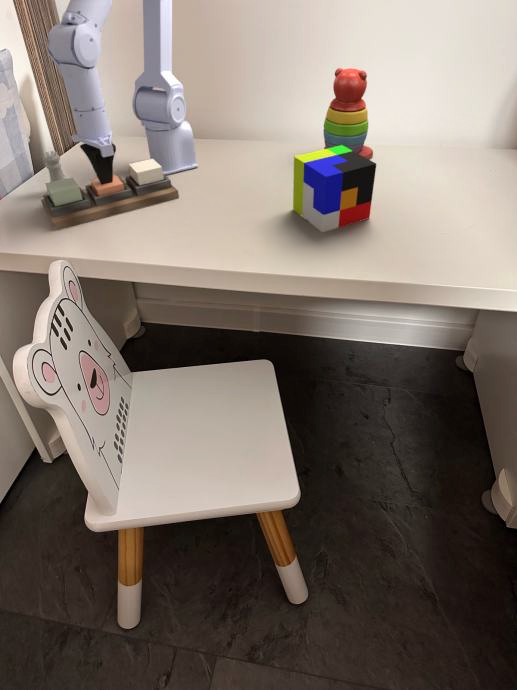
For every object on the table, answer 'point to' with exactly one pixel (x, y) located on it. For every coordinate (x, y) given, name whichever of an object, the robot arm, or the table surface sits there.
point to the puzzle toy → (333, 187)
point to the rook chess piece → (53, 166)
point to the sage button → (64, 191)
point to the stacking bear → (348, 113)
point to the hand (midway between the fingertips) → (106, 182)
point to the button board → (108, 202)
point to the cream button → (146, 171)
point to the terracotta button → (107, 186)
